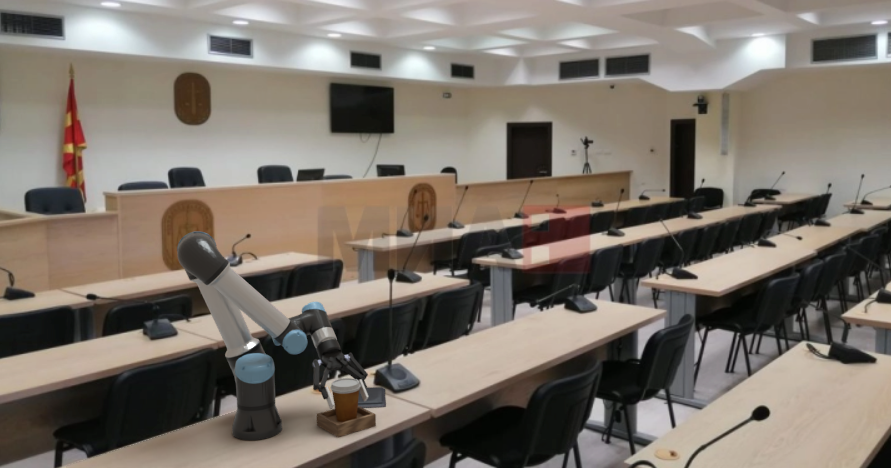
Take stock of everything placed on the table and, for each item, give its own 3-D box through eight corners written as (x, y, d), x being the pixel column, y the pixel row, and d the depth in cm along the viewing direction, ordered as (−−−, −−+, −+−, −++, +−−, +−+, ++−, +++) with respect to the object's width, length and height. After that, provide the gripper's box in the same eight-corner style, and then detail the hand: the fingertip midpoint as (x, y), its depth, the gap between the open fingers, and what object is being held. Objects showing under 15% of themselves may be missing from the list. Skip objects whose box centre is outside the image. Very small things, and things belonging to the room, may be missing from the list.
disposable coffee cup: (355, 425, 224) (354, 388, 223) (327, 423, 227) (325, 386, 225) (365, 414, 234) (364, 378, 232) (338, 412, 236) (336, 376, 234)
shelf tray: (337, 437, 221) (337, 425, 220) (316, 425, 230) (316, 413, 230) (375, 425, 230) (375, 414, 229) (353, 414, 239) (353, 403, 239)
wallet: (385, 404, 246) (340, 405, 245) (385, 409, 246) (341, 410, 245) (386, 384, 265) (345, 386, 264) (386, 389, 266) (345, 391, 265)
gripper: (354, 344, 247) (378, 400, 236) (289, 356, 233) (311, 416, 223) (361, 332, 242) (386, 389, 231) (296, 344, 228) (318, 405, 218)
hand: (349, 402), depth 227 cm, fingers open, 11 cm apart
